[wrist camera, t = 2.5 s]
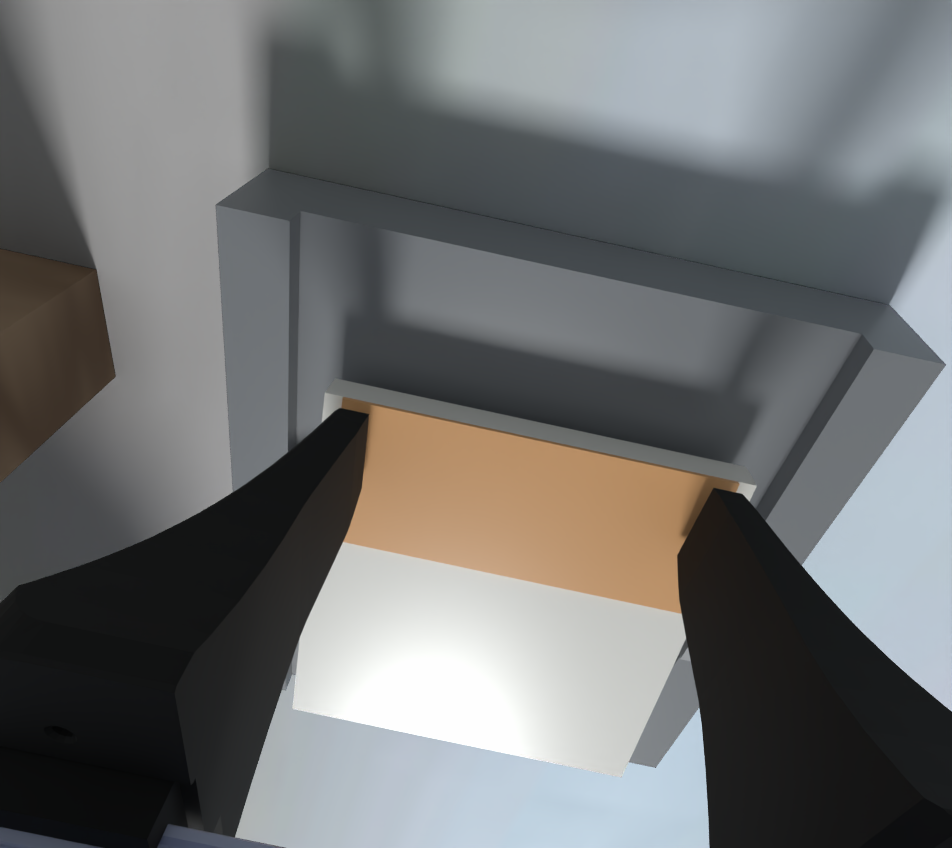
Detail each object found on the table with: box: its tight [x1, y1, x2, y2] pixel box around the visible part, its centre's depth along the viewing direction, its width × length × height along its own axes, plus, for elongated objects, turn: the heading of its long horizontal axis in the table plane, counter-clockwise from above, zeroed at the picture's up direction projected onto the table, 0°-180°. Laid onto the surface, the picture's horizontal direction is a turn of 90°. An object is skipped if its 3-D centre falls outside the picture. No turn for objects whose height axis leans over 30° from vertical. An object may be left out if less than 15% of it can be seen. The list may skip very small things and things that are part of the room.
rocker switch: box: [292, 378, 757, 777], centre depth 16 cm, size 10×9×1 cm
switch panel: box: [216, 169, 946, 768], centre depth 17 cm, size 16×14×4 cm
